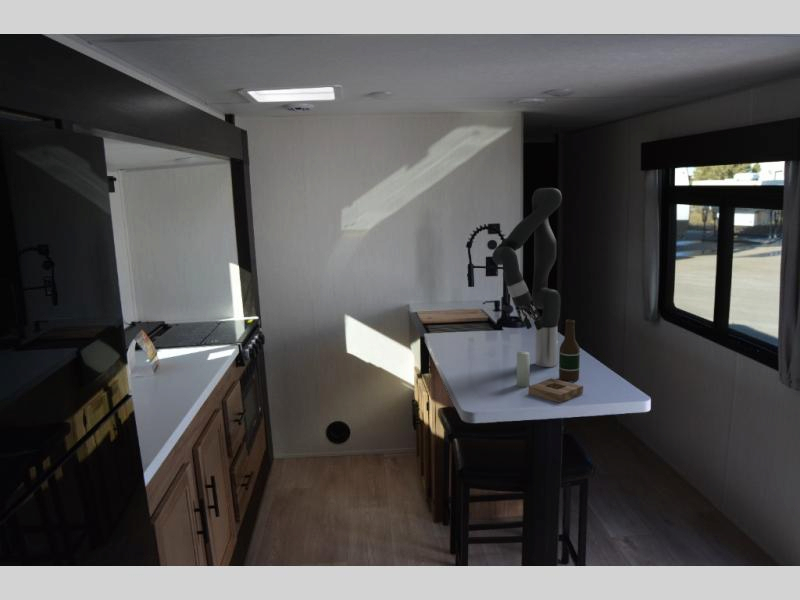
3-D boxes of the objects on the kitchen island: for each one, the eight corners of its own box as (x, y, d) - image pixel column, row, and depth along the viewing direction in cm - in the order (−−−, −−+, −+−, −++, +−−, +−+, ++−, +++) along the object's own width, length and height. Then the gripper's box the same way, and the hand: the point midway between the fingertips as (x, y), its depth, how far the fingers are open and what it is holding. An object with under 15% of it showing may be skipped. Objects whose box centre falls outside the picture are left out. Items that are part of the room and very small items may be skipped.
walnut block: (551, 385, 236) (551, 378, 236) (582, 393, 226) (583, 386, 225) (528, 394, 227) (528, 386, 227) (560, 402, 217) (560, 394, 216)
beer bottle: (580, 382, 239) (581, 322, 235) (559, 381, 241) (560, 322, 237) (578, 376, 247) (579, 318, 243) (558, 376, 248) (559, 318, 244)
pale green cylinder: (521, 382, 241) (522, 350, 239) (531, 385, 237) (532, 352, 235) (514, 385, 238) (514, 352, 236) (524, 388, 234) (524, 355, 232)
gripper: (535, 288, 242) (550, 325, 244) (518, 289, 256) (533, 324, 258) (519, 296, 240) (535, 333, 242) (504, 296, 254) (518, 331, 256)
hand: (534, 328), depth 250 cm, fingers open, 8 cm apart
